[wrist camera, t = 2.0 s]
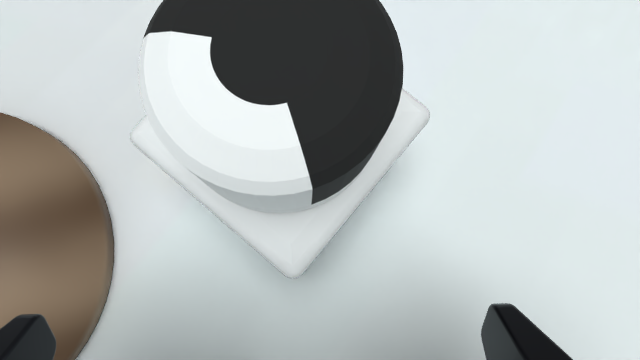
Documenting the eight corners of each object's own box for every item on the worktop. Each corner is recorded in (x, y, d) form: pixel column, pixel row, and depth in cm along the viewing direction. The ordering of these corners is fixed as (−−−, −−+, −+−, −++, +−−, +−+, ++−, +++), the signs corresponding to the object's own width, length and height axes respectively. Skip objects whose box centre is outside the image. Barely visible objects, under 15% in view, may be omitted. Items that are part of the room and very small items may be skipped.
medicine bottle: (281, 71, 22) (254, -151, 10) (394, 161, 21) (502, 33, 10) (182, 178, 21) (24, 66, 9) (298, 278, 20) (286, 294, 8)
